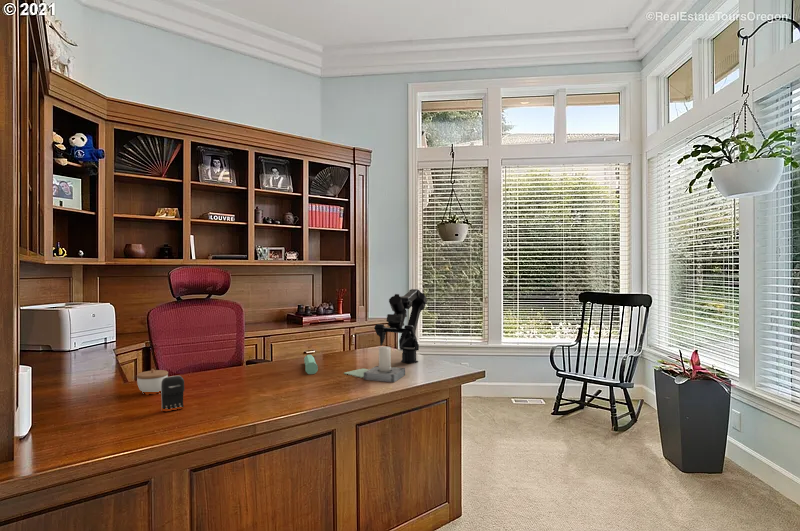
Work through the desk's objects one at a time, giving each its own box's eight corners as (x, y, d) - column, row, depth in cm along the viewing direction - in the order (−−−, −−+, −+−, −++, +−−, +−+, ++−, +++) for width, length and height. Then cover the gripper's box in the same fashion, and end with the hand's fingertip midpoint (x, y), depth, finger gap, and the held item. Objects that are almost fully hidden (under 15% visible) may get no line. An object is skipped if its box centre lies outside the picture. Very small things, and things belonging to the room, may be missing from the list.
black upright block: (163, 413, 156) (163, 379, 156) (160, 411, 159) (160, 377, 159) (185, 409, 161) (185, 376, 161) (182, 407, 164) (182, 374, 164)
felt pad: (363, 369, 221) (363, 368, 221) (381, 373, 213) (381, 372, 213) (343, 373, 213) (343, 372, 213) (362, 377, 204) (362, 376, 204)
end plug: (386, 375, 209) (386, 346, 209) (393, 377, 205) (392, 347, 205) (376, 377, 206) (376, 347, 206) (383, 379, 202) (383, 349, 202)
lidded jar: (132, 393, 182) (132, 369, 182) (161, 387, 190) (161, 364, 190) (142, 398, 175) (142, 373, 175) (172, 392, 183) (172, 368, 183)
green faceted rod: (305, 351, 237) (308, 360, 212) (316, 355, 238) (320, 364, 214) (301, 362, 236) (303, 372, 212) (312, 366, 237) (315, 376, 213)
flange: (376, 372, 215) (376, 366, 215) (405, 374, 210) (405, 368, 210) (363, 379, 201) (363, 372, 201) (394, 382, 197) (394, 375, 197)
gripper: (375, 307, 220) (366, 333, 210) (413, 308, 214) (405, 335, 203) (382, 321, 228) (373, 348, 217) (418, 323, 221) (411, 350, 211)
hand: (390, 345), depth 212 cm, fingers open, 9 cm apart
